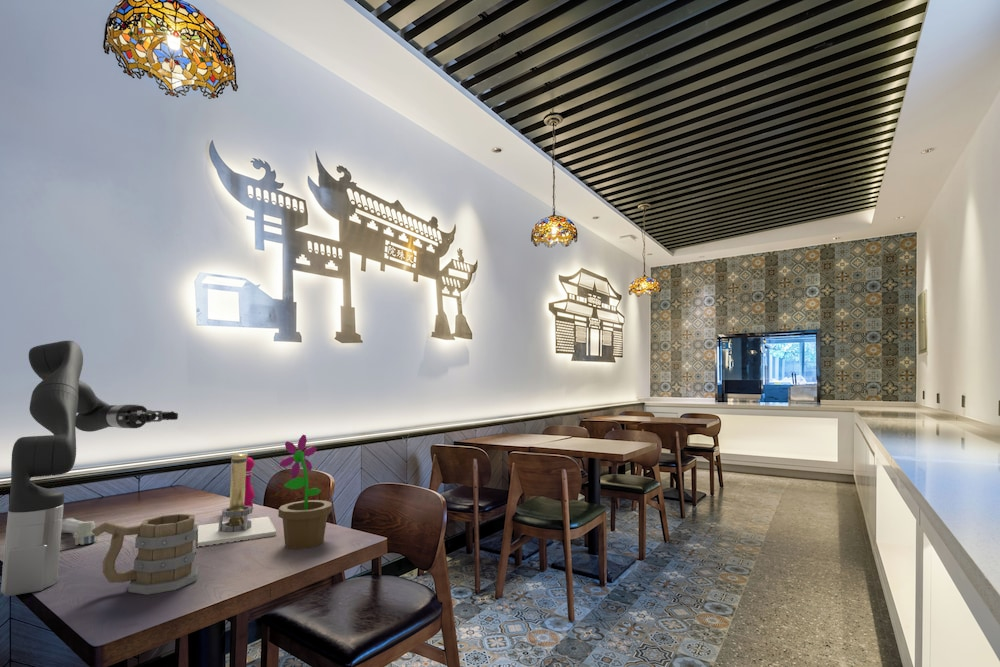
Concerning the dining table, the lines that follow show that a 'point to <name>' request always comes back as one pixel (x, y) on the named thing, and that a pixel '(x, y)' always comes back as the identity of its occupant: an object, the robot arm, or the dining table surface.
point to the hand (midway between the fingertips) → (164, 417)
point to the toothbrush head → (79, 530)
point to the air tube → (237, 487)
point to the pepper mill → (249, 482)
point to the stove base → (235, 528)
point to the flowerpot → (303, 503)
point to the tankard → (154, 553)
